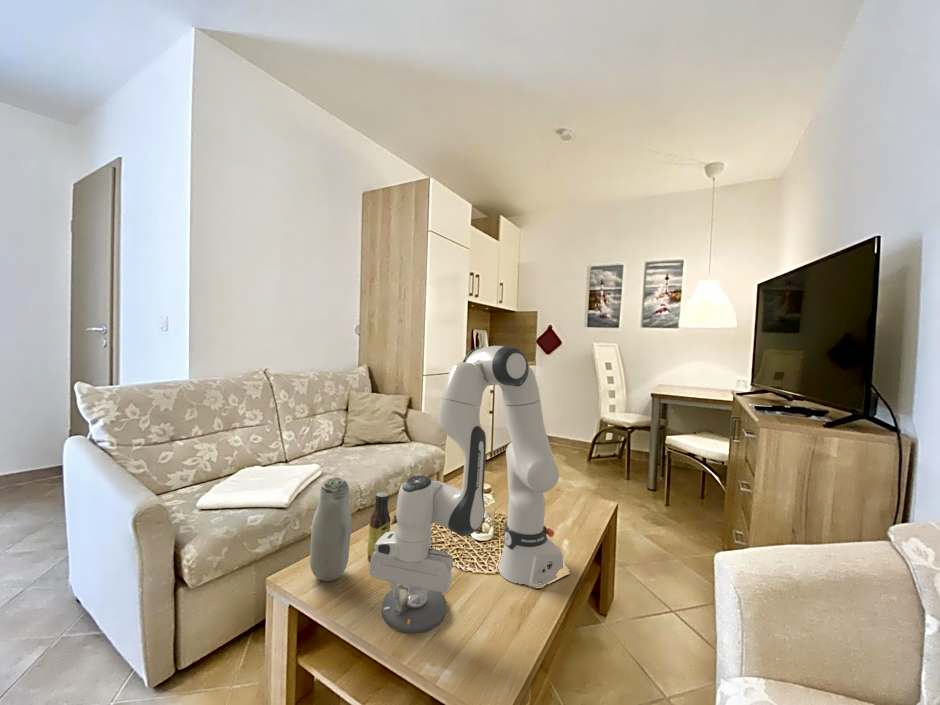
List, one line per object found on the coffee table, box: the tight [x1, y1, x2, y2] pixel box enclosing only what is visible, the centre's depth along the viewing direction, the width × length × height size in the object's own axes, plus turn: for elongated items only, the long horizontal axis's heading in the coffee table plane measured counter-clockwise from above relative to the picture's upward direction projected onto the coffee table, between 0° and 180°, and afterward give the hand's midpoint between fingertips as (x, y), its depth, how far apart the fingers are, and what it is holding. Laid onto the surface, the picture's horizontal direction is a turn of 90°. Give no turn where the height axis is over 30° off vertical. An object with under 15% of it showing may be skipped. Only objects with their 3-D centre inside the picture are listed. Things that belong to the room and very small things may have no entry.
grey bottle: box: [309, 477, 353, 582], centre depth 112 cm, size 10×10×28 cm
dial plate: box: [381, 584, 447, 634], centre depth 102 cm, size 16×16×2 cm
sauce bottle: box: [366, 491, 392, 562], centre depth 123 cm, size 7×6×20 cm
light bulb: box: [395, 584, 427, 615], centre depth 100 cm, size 10×6×6 cm, turn 147°
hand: (408, 600), depth 98 cm, fingers open, 5 cm apart
